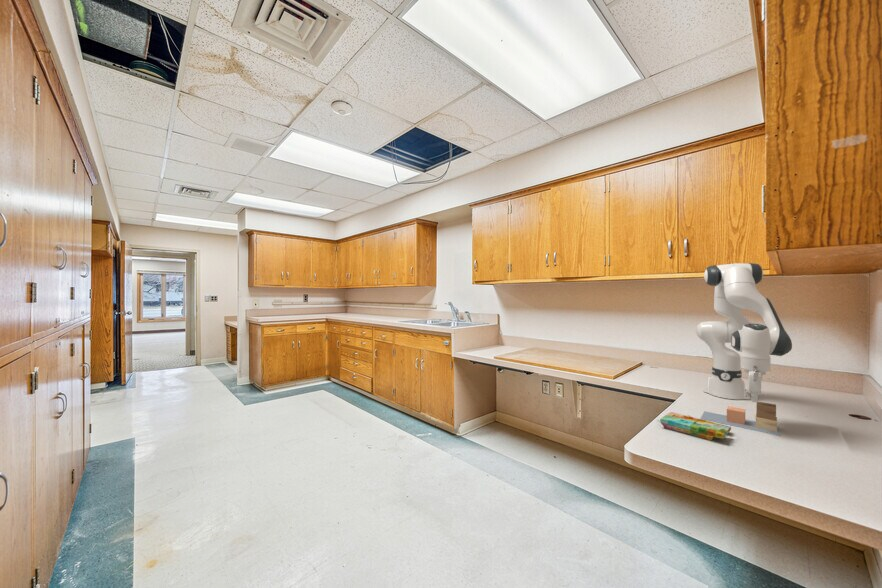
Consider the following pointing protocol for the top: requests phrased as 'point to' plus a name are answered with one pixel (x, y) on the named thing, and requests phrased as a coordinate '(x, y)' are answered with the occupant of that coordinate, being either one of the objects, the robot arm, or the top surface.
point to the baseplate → (748, 423)
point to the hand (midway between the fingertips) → (754, 398)
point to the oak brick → (766, 424)
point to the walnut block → (766, 411)
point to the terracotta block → (736, 415)
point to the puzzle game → (694, 426)
